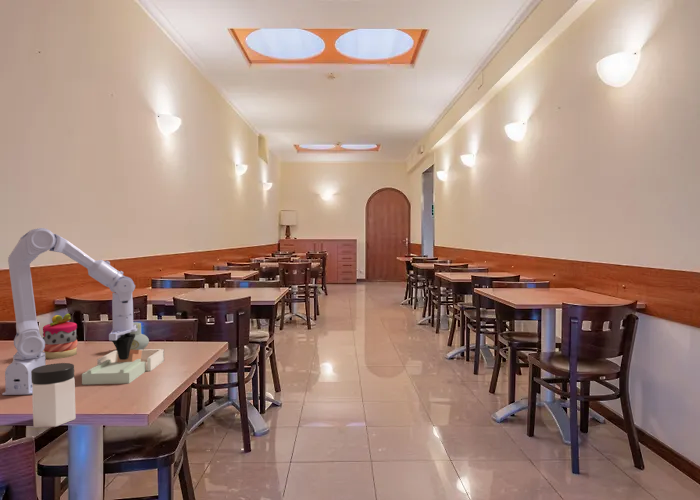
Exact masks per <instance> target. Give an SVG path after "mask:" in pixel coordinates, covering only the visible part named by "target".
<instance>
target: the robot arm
mask: <svg viewBox="0 0 700 500" xmlns="http://www.w3.org/2000/svg"><path fill="white" fill-rule="evenodd" d="M47 251H50V252H53V253H54V252H55V253H60V254H63V255H64V256H67V257H68V258H70V259H71V260H73V261H74V262H76V263H78V264H79V265H81V266H83V267H84V268H86V269H87V272H88V273H87V275H88V276H90V277H91V278H92V279H94V280H95V281H97V282H99V284H101V285H103V286H105V287H107V288H109V290H110V291H111V293H112V300H111V302H112V303H111V304H112V305H111V306H112V307H111V308H112V312H111V313H112V316H111V317H112V330H111V332H110V333H109V334H108V340H109V341H111V342H112V343H113V345H114V347H115V349H116V350H117V352H118V356H119V359H128V357H129V353H130V348H131V344H132V342H133V340H134V338H135V334H130V332H135V331H137V328H136V325H133V322H134V300H133V292H134V290H135V289H136V284H135V282H134V281H133V279H132V278H131V277H130V276H125V275H124V271H122V270H120V271H119V270H117V269H116V268H115V267H113V265H111V262H110V261H109V260H105V261H104V259H97V260H96V259H94V258H92V256H89V254H87V253H86V252H84V251H83V250H82V249H80V248H79V247H78V246H76V245H75V244H73V243H72V242H70V241H69V240H68V239H66V238H64V237H62V236H61V235H59V234H57V233H53V231H51V230H50V229H48V228H45V227H38V228H35V229H34V228H33V229H31V230H29V231H27V232H26V233H25V234H23V235H22V236H21V237H20V238H19V240H18V242H17V243H16V245H15V246H14V248H13V249H12V251H11V252H10V254H9V255H8V257H7V258H8V259H7V262H8V270H9V271H8V272H9V278H10V284H11V285H10V287H11V292H12V293H11V294H12V300H13V310H14V314H15V315H14V316H15V323H16V324H15V329H16V335H15V337H14V339H13V346H14V348H15V349H16V353H15V354H14V355H13V357H12V358H13V359H12V362H11V363H10V364H8V366H7V367H6V368H5V371H4V376H5V377H4V378H5V380H4V381H5V385H4V387H5V391H4V392H2V396H14V395H15V396H16V395H19V396H20V395H32V380H31V371H32V370H33V369H34V368H37V367H40V366H44V365H47V364H46V358H45V352H44V348H45V341H44V339H43V337H42V336H41V334H40V333H41V332H40V328H39V325H38V319H37V313H36V312H37V311H36V303H35V296H34V288H33V279H32V271H31V263H32V262H33V261H35V259H36V258H38V257H39V256H40V255H41V254H43V253H45V252H47Z"/></svg>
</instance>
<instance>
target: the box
mask: <svg viewBox="0 0 700 500" xmlns="http://www.w3.org/2000/svg"><path fill="white" fill-rule="evenodd" d="M117 358H118V352H117V349H116V350H115V349H114V350H113V351H110V352H109V353H107V354H105V355H103V356H101V357H99V358H97V359H96V361H97V365H98V364H100V363H102V362H104V361H106V360H111V362H117ZM141 362H146V371H145V372H152V371H153V370H154V369H156V368H157V367H158V366H159V365H161V364H162V363H164V362H165V348H155V349H154V348H153V349H150V348H149V349H145V348H144V349H142V353H141ZM97 365H96V366H97Z"/></svg>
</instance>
